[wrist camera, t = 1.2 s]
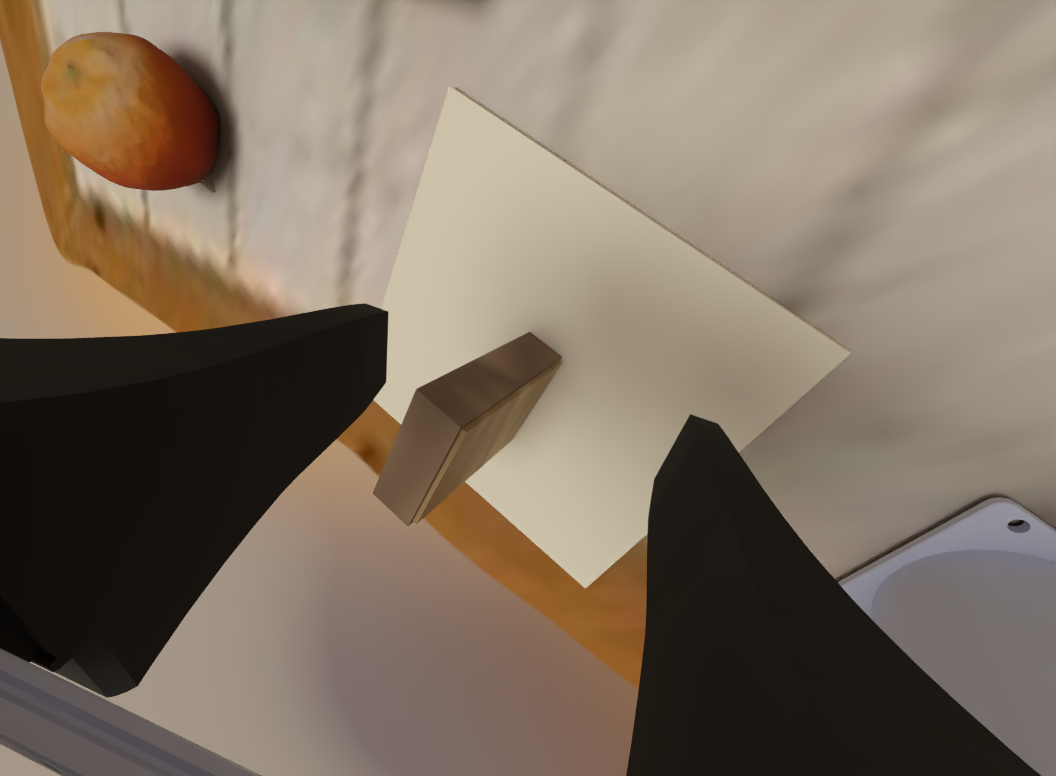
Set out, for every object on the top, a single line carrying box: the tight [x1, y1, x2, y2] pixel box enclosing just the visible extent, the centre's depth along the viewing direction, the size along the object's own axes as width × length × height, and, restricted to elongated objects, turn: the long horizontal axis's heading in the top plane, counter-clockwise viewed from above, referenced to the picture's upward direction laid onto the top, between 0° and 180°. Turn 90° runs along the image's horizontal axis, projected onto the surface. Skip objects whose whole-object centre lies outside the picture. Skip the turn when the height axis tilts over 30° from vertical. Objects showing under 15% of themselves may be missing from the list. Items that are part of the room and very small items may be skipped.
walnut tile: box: [373, 332, 562, 526], centre depth 19 cm, size 2×6×8 cm, turn 150°
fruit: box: [41, 32, 220, 192], centre depth 26 cm, size 8×8×8 cm
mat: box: [374, 86, 851, 589], centre depth 22 cm, size 19×18×1 cm
